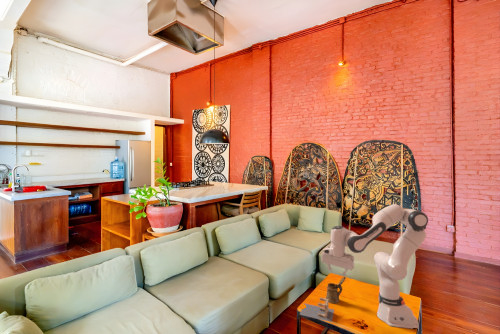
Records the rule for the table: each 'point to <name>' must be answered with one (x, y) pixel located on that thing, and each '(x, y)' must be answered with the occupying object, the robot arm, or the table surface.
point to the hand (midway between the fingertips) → (337, 272)
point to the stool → (323, 308)
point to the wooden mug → (334, 291)
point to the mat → (316, 312)
